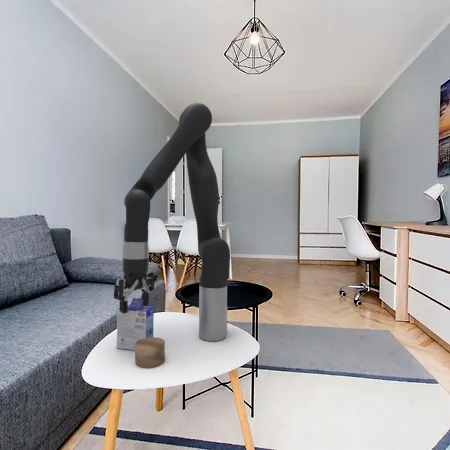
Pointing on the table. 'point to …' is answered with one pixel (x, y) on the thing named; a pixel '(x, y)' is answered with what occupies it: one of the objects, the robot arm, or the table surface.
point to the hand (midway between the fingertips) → (134, 309)
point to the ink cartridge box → (134, 324)
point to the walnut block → (149, 352)
